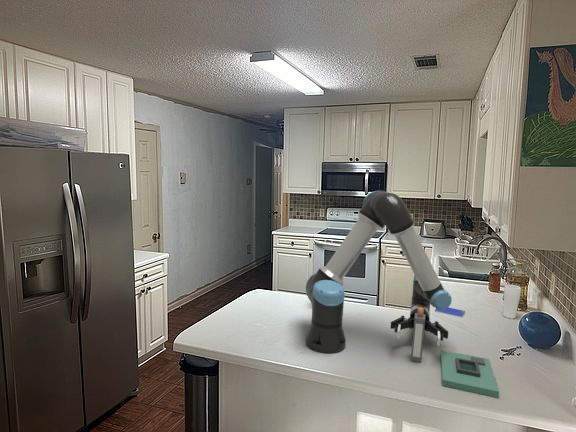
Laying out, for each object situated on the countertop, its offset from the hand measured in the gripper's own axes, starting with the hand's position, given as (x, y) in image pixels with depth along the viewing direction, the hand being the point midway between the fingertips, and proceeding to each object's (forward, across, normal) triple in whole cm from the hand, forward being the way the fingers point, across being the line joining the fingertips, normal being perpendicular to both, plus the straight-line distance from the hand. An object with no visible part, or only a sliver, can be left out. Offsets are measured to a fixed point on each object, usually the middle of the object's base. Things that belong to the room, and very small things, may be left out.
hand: (418, 338), depth 138 cm
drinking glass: (-66, -40, -9) cm, 77 cm away
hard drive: (-59, -14, -10) cm, 62 cm away
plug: (-3, 0, -9) cm, 10 cm away
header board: (+1, -16, -9) cm, 19 cm away
